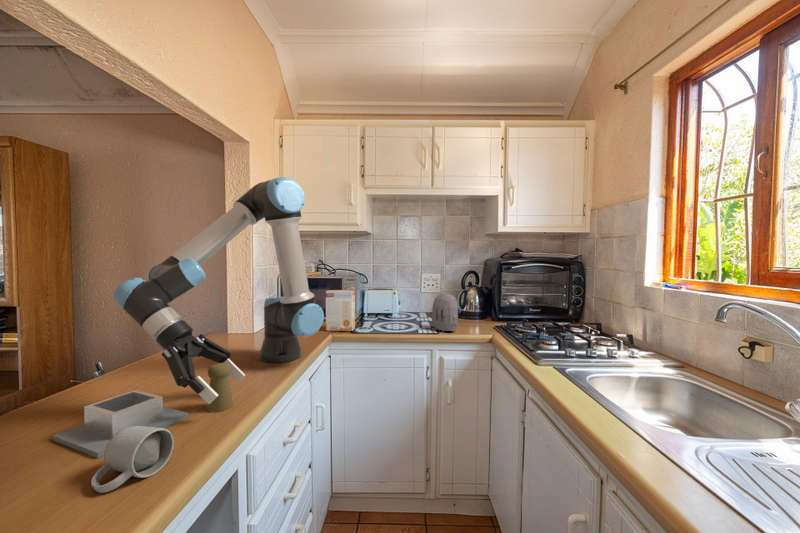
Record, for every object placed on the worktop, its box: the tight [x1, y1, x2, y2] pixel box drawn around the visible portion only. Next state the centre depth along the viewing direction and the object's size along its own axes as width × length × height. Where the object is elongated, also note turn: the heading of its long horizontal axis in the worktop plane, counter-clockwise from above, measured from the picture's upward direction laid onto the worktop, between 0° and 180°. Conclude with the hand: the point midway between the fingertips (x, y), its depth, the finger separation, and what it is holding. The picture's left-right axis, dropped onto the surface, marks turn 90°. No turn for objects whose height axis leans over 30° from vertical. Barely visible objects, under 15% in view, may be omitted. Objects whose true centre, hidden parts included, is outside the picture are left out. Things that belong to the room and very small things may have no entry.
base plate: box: [52, 405, 189, 459], centre depth 76 cm, size 18×16×1 cm
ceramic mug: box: [90, 426, 175, 494], centre depth 60 cm, size 11×8×8 cm
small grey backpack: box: [431, 292, 459, 332], centre depth 176 cm, size 15×8×20 cm, turn 44°
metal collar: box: [83, 389, 164, 439], centre depth 76 cm, size 10×10×5 cm
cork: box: [206, 362, 234, 413], centre depth 87 cm, size 6×6×11 cm
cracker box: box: [325, 289, 356, 332], centre depth 176 cm, size 14×6×21 cm, turn 82°
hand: (228, 388), depth 87 cm, fingers open, 13 cm apart
